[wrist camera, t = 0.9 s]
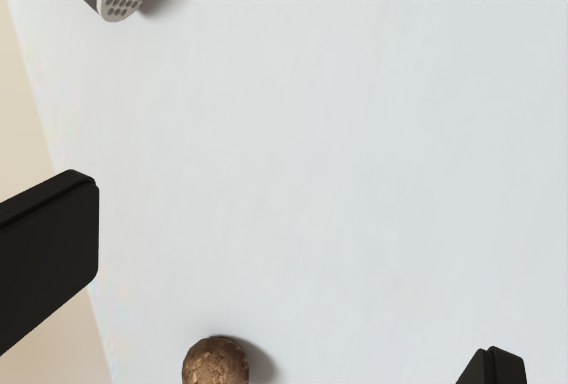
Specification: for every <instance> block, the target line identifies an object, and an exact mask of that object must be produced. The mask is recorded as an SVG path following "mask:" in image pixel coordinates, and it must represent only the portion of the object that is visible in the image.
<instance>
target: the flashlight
mask: <svg viewBox="0 0 568 384" xmlns="http://www.w3.org/2000/svg"><path fill="white" fill-rule="evenodd" d="M84 1H85V2H86V3H87V4H88V5H89V6H91V7H92V8H93V9H94V10H95V11H96V12H97V13H98V14H99V15H100V16H101V17H102V18H103V19H104V20H106V21H108V22H118V21H121V20H123V19H125V18H127V17H128V16H130V15H131V14H132V13H134V12H135V11H136V10H137V9H138V8H139V7H140V6H141V4H142V3H143V1H144V0H84Z"/></svg>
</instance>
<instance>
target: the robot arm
mask: <svg viewBox="0 0 568 384" xmlns="http://www.w3.org/2000/svg"><path fill="white" fill-rule="evenodd" d="M98 248H99V188H98V187H97V186H96V183H95V180H94V179H93V178H92V177H90V176H87V175H85V174H82V173H80V172H78V171H75V170H71V169H69V170H66V171H64V172H62V173H60V174H58V175H56V176H54V177H52V178H50V179H48V180H46V181H44V182H42V183H40V184H38V185H36V186H34V187H32V188H30V189H28V190H26V191H24V192H22V193H19V194H17V195H16V196H13V197H11V198H9V199H7V200H5V201H4V202H1V203H0V356H1V355H2V354H3V353H5V352H6V351H7V350H9V349H10V348H11V347H12V346H14V345H15V344H16V343H17V342H18V341H20V340H21V339H22V338H23V337H24V336H26V335H27V334H28V333H29V332H30V331H32V330H33V329H34V328H35V327H37V326H38V325H39V324H40V323H42V322H43V321H44V320H45V319H46V318H48V317H49V316H50V315H51V314H52V313H54V312H55V311H56V310H57V309H58V308H60V307H61V306H62V305H63V304H65V303H66V302H67V301H68V300H69V299H71V298H72V297H73V296H74V295H76V293H78V292H79V291H80V290H82V289H83V288H84V287H85V286H86V285H88V284H89V283H90V282H91V281H92V280H93V279H94V277H95V276H96V274H97V271H98ZM456 384H527V380H526V373H525V366H524V362H523V359H522V358H521V357H519V356H516V355H514V354H512V353H509V352H507V351H504V350H502V349H500V348H497V347H495V346H491V347H490V348H489V349H488V350H487V351H486V350H484V349H481V348H480V349H478V350H477V352H476V353H475V354H474V356H473V357H472V359H471V361H470V362H469V364H468V365H467V367H466V368H465V370H464V371H463V373H462V374H461V376H460V377H459V379H458V381H457V382H456Z"/></svg>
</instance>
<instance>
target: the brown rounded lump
mask: <svg viewBox="0 0 568 384" xmlns="http://www.w3.org/2000/svg"><path fill="white" fill-rule="evenodd" d="M248 380H249V366H248V362H247V358H246V355H245V354H244V352H243V351H242V349H241V348H240V347H239V345H237V344H236V343H234V342H232V341H231V340H229V339H225V338H218V337H213V338H205V339H201V340H200V341H199V342H197V343H196V344H195V345H194V346H192V347H191V348H190V349H189V351H188V353H187V355H186V357H185V359H184V361H183V367H182V382H183V384H248Z"/></svg>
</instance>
